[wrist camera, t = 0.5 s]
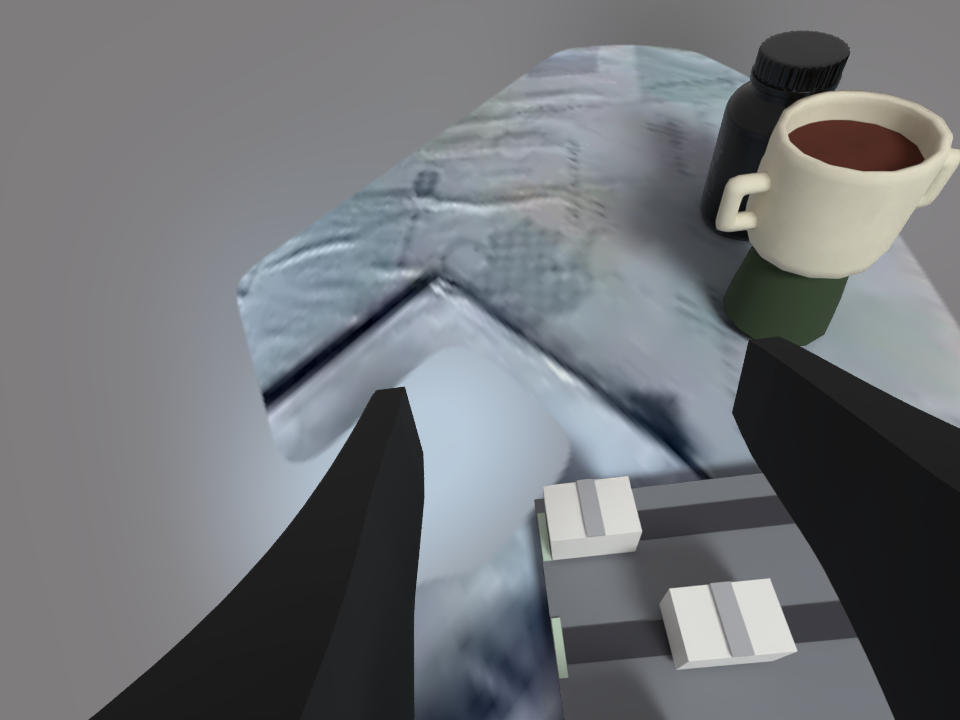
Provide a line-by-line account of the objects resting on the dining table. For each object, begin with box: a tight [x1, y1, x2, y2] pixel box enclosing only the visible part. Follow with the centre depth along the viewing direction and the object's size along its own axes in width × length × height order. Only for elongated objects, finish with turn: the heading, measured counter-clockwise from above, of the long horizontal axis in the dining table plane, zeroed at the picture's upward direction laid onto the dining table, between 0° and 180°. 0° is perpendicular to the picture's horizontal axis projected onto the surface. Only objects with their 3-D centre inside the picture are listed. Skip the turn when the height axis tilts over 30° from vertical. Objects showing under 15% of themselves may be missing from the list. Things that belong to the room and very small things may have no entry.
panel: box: [534, 473, 895, 720], centre depth 23 cm, size 14×14×1 cm
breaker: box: [543, 476, 642, 560], centre depth 25 cm, size 3×4×3 cm, turn 94°
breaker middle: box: [659, 578, 797, 670], centre depth 21 cm, size 3×4×3 cm, turn 94°
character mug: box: [716, 90, 960, 346], centre depth 29 cm, size 11×7×13 cm, turn 92°
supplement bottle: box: [701, 31, 850, 241], centre depth 35 cm, size 7×7×12 cm
